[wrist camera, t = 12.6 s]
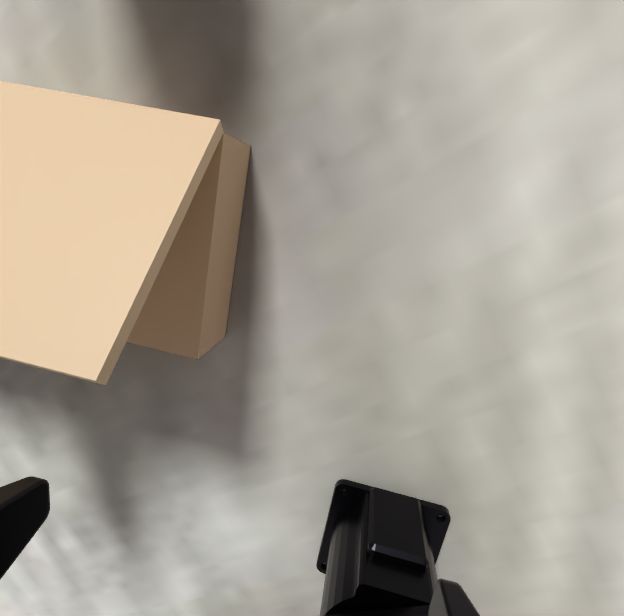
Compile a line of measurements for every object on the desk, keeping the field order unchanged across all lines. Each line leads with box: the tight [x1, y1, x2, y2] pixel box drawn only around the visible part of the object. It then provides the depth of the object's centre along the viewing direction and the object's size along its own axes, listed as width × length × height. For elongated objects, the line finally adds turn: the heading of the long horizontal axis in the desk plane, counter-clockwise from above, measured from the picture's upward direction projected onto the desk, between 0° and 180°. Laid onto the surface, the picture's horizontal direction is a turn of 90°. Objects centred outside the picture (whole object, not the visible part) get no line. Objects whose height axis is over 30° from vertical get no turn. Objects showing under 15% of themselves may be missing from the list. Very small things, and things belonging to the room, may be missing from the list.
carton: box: [127, 132, 251, 360], centre depth 20 cm, size 10×18×4 cm, turn 79°
